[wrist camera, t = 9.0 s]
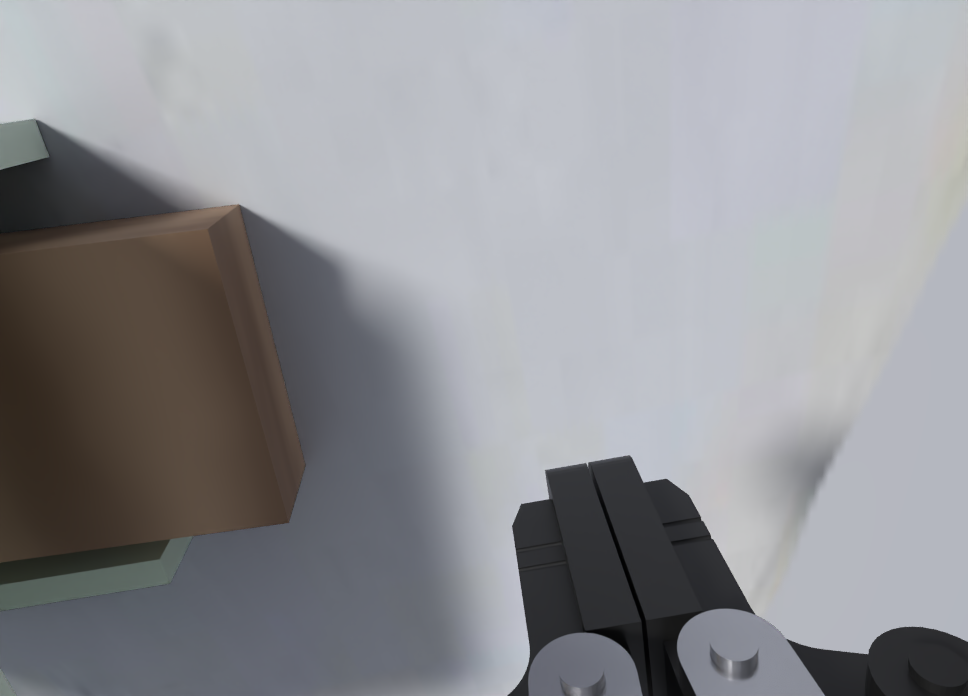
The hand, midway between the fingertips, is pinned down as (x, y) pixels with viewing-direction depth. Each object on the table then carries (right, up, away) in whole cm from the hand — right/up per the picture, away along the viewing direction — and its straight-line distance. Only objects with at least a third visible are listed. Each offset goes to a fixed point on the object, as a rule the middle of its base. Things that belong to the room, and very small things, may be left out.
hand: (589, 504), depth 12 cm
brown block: (-14, +2, +9) cm, 17 cm away
